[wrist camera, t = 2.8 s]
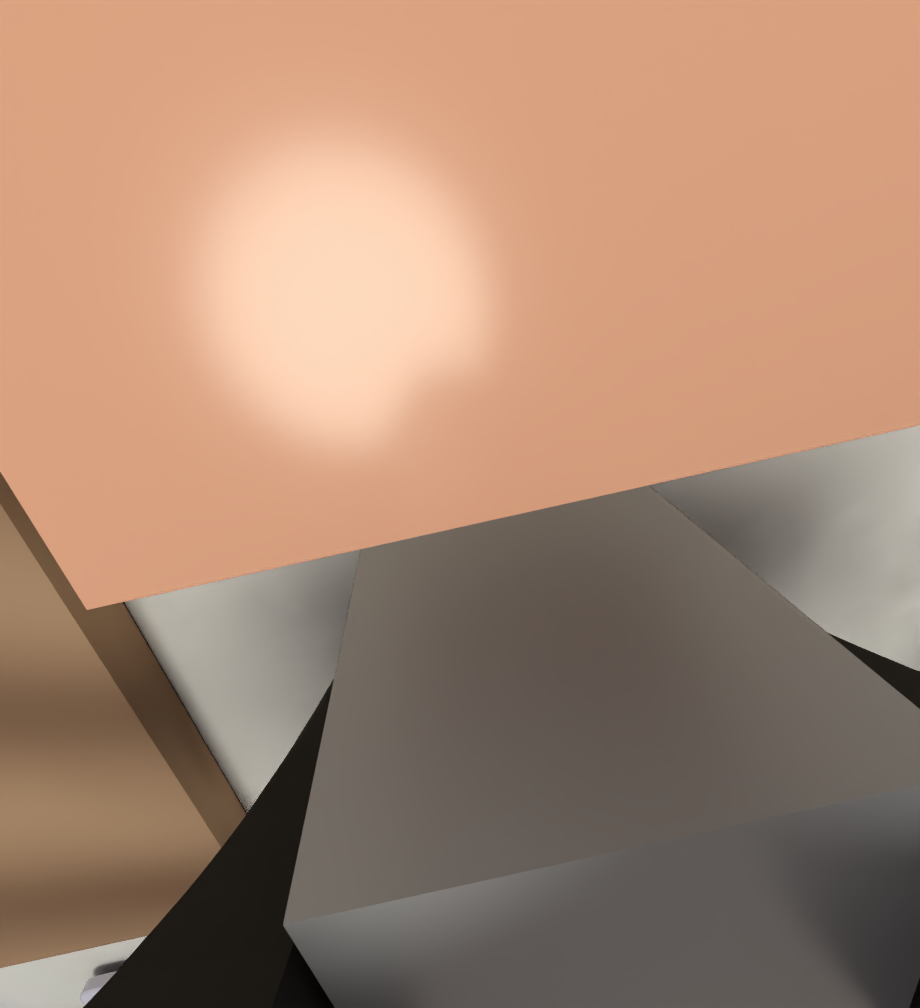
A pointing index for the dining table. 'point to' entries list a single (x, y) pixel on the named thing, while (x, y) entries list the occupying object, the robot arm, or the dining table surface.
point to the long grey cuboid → (603, 781)
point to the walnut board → (90, 766)
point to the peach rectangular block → (436, 262)
